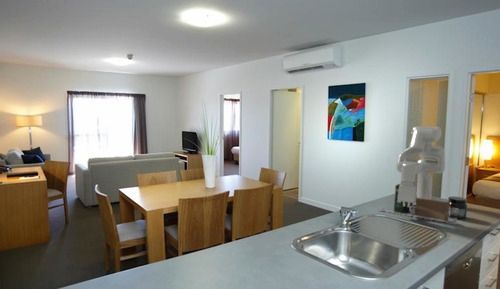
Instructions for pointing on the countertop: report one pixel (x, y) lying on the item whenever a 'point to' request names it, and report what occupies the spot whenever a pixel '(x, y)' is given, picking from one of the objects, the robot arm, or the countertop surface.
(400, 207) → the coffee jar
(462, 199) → the supplement container
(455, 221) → the grey rail
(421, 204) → the walnut screen
